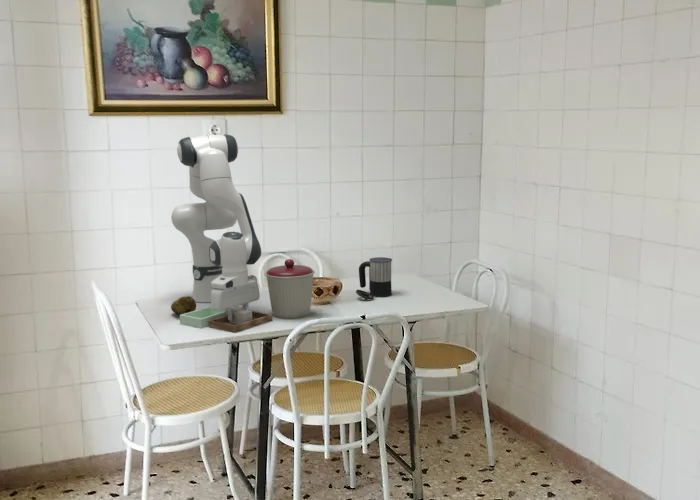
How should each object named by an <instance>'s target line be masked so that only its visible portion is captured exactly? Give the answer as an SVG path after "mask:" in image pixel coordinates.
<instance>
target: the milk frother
mask: <svg viewBox="0 0 700 500" xmlns="http://www.w3.org/2000/svg"><path fill="white" fill-rule="evenodd" d="M368 260H369V261H368ZM368 260H367V261H364V262H362V263H361V264H360V265H359V266H358V279H359V287H360V288H361V289H356V291H355V293H356V295H358V296H359V297H361V298H362V299H364V300H365V301H367V300H373V299H374V298H388V297H391V296H392V295H393V293H392V292H393V291H392V261H393V259H392V258H391V257H383V256H380V257H371V258H369V259H368ZM367 267H368V268H369V269H368V270H369V274H368V279H369V282H368V283H369V286H368V287H369V288H368V289H369V292H367V291H365V290H362V289H364V288H365V287H366V286H367V280H366V268H367Z"/></svg>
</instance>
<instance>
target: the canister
mask: <svg viewBox="0 0 700 500" xmlns="http://www.w3.org/2000/svg"><path fill="white" fill-rule="evenodd" d="M315 273H316V271H315V269H313V268H312V267H310V266H306V265H302V264H295V260H294V259H291V258H288V259H286V260H285V261H284V265H279V266H278V265H277V266H273V267H271V268H268V270H266V271H264V276H266V281H267V288H268V294H269V295H268V296H269V301H270V306H271V311H272V315H273V316H274V317H275V318H279V319H289V320H290V319H300V318H303V317H307V316H309V314H310V311H311V306H312V295H313V282H314V274H315Z"/></svg>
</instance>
